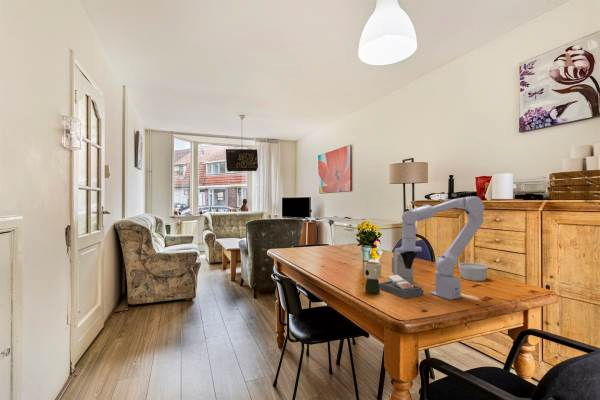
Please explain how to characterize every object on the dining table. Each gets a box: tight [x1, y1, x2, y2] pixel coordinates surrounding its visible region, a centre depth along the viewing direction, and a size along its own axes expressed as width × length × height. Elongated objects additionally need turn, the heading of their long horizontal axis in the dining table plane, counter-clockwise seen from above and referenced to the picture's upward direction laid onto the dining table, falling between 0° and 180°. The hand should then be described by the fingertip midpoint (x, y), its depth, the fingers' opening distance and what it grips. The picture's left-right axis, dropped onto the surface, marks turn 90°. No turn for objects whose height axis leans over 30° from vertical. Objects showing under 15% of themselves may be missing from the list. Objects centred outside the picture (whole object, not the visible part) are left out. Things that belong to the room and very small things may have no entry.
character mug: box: [363, 261, 382, 294], centre depth 131 cm, size 11×7×13 cm, turn 2°
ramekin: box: [458, 262, 489, 282], centre depth 154 cm, size 13×13×7 cm
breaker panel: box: [379, 280, 425, 299], centre depth 133 cm, size 16×11×3 cm
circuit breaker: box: [391, 250, 415, 285], centre depth 149 cm, size 8×14×15 cm, turn 174°
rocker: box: [386, 274, 414, 290], centre depth 133 cm, size 10×6×2 cm, turn 27°
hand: (408, 268), depth 132 cm, fingers closed
